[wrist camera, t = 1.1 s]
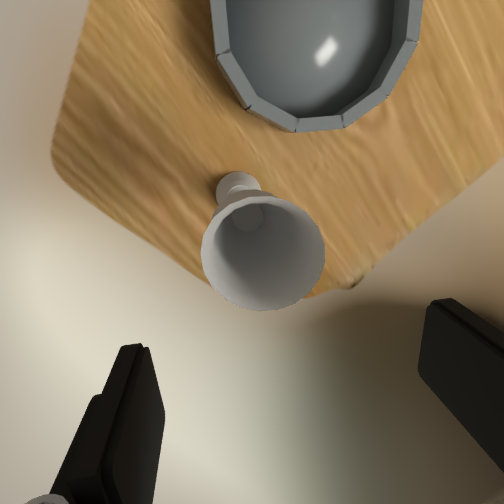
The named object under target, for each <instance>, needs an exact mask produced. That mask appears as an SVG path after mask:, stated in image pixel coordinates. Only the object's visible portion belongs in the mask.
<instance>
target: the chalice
mask: <svg viewBox="0 0 504 504" xmlns="http://www.w3.org/2000/svg"><path fill="white" fill-rule="evenodd" d="M216 201H217V203H218V207H217V209H216V210H215V212H214V214H213V217H212V221H211V223H210V225H209V226H208V228H207V230H206V232H205V233H204V236H203V242H202V248H201V259H202V264H203V270H204V273H205V275H206V276H207V278H208V280H209V282H210V283H211V285H212V287H213V288H214V289H215V290H216V291H217V292H218V293H219V294H220V295H221V296H223V297H224V298H225V299H226V300H228V301H230V302H231V303H233V304H235V305H237V306H239V307H241V308H246V309H251V310H256V311H268V310H278V309H281V308H284V307H286V306H289V305H292V304H295V303H296V302H297V301H299V300H300V299H301V298H303V297H304V296H306V295H307V294H308V293H309V292H310V291H311V290H312V288H313V287H314V285H315V284H316V283H317V281H318V280H319V279H320V275H321V272H322V269H323V266H324V263H325V244H324V241H323V238H322V236H321V233H320V230H319V228H318V226H317V225H316V224H315V222H314V221H313V220H312V219H311V217H310V216H309V215H308V214H307V212H305V211H304V210H302V209H301V208H299V207H298V206H296V205H295V204H293V203H291V202H290V201H286V200H283V199H279V198H277V197H276V196H274V195H273V194H271V193H269V192H265V191H261V188H260V186H259V183H258V182H257V180H256V179H255V178H254V177H253V176H251V175H250V174H248V173H245V172H241V171H240V172H232V173H230V174H227V175H226V176H224V177H223V178H222V179H221V180H220V182H219V184H218V185H217V189H216Z"/></svg>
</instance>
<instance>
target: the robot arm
mask: <svg viewBox="0 0 504 504" xmlns="http://www.w3.org/2000/svg"><path fill="white" fill-rule="evenodd" d="M418 372H419V375H420V377H421V378H422V379H423V380H424V382H425V383H426V384H427V385H428V386H429V387H430V389H431V390H432V391H433V392H434V393H435V394H436V395H437V397H438V398H439V399H440V400H441V401H442V402H443V403H444V405H445V406H446V407H447V408H448V409H449V410H450V411H451V413H452V414H453V415H454V416H455V417H456V418H457V420H458V421H459V422H460V423H461V424H462V425H463V426H464V428H465V429H466V430H467V431H468V432H469V433H470V435H471V436H472V437H473V438H474V439H475V440H476V441H477V443H478V444H479V445H480V446H481V447H482V448H483V449H484V450H485V452H486V453H487V454H488V455H489V456H490V458H491V459H492V460H493V461H494V462H495V463H496V464H497V466H498V467H499V468H500V469H501V470H502V471H503V472H504V333H503V332H501V331H500V330H499V329H497V328H496V327H494V326H493V325H491V324H490V323H488V322H487V321H485V320H484V319H482V318H481V317H479V316H478V315H476V314H475V313H473V312H472V311H471V310H469V309H468V308H466V307H465V306H463V305H462V304H460V303H459V302H457V301H456V300H454V299H452V298H447V299H440V300H434V301H432V302H431V303H430V305H429V306H428V307H427V309H426V316H425V322H424V329H423V335H422V342H421V349H420V355H419V362H418ZM164 424H165V410H164V406H163V402H162V398H161V394H160V390H159V386H158V382H157V378H156V374H155V370H154V366H153V362H152V358H151V354H150V350H149V348H148V347H143V345H142V344H141V343H138V344H131V345H124V346H122V347H121V348H120V350H119V353H118V355H117V357H116V360H115V362H114V365H113V367H112V369H111V372H110V375H109V377H108V379H107V382H106V384H105V386H104V389H103V391H102V394H98V395H95V396H94V397H93V398H92V399H91V401H90V403H89V405H88V407H87V409H86V412H85V414H84V416H83V418H82V421H81V423H80V425H79V427H78V430H77V432H76V434H75V436H74V439H73V441H72V443H71V445H70V448H69V450H68V452H67V455H66V457H65V459H64V461H63V464H62V466H61V468H60V470H59V473H58V475H57V477H56V479H55V482H54V484H53V486H52V488H51V491H50V493H49V494H48V495H42V496H39V497H37V498H34V499H32V500H30V501H28V502H27V503H25V504H152V502H153V497H154V490H155V483H156V477H157V470H158V464H159V457H160V450H161V444H162V437H163V431H164ZM482 504H504V499H501V500H496V501H491V502H487V503H482Z"/></svg>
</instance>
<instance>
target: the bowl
mask: <svg viewBox="0 0 504 504" xmlns="http://www.w3.org/2000/svg"><path fill="white" fill-rule="evenodd" d="M209 6H210V15H211V24H212V34H213V43H214V53H215V62H216V63H217V64H216V65H217V67H218V68H219V70H220V72H221V73H222V75H223V76H224V78H225V80H226V81H227V83H228V84H229V86H230V88H231V89H232V91H233V92H234V94H235V95H236V97H237V99H238V100H239V102H240V103H241V105H242V107H243V108H244V109H246V108H247V109H246V111H247V112H249V113H251V114H253V115H254V116H256V117H258V118H260V119H262V120H264V121H266V122H268V123H270V124H271V125H273V126H275V127H277V128H279V129H281V130H283V131H285V132H290V133H299V132H310V131H321V130H333V129H343V128H346V127H347V126H349V125H350V124H351V123H353V122H354V121H356V120H357V119H358V118H360V117H361V116H363V115H364V114H365V113H367V112H368V111H370V110H371V109H372V108H374V107H375V106H377V105H378V104H379V103H381V102H382V101H384V100H385V99H386V98H387V96H389V95H390V93H391V91H392V90H393V88H394V86H395V84H396V82H397V81H398V79H399V77H400V75H401V73H402V72H403V70H404V68H405V66H406V64H407V63H408V61H409V59H410V57H411V55H412V54H413V52H414V50H415V48H416V46H417V43H416V42H418V41H419V34H420V25H421V15H422V6H423V0H209Z"/></svg>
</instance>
